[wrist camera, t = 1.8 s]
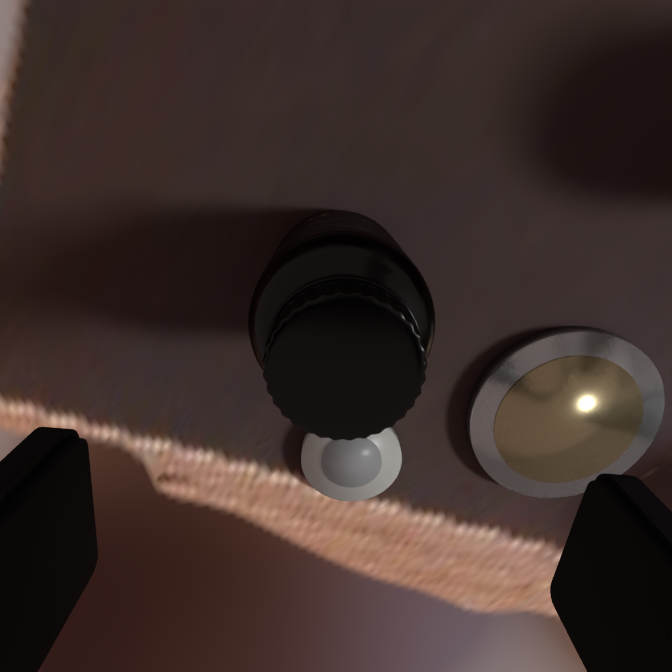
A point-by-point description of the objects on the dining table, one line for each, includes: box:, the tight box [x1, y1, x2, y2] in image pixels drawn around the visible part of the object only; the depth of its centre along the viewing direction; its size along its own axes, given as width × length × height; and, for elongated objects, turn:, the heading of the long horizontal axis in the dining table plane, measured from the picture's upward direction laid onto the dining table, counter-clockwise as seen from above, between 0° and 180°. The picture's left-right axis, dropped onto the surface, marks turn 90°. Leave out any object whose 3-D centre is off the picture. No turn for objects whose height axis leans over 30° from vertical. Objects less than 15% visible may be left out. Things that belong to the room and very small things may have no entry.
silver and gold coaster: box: [466, 326, 665, 498], centre depth 27 cm, size 11×11×1 cm
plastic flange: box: [301, 427, 402, 501], centre depth 28 cm, size 6×6×1 cm
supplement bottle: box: [248, 210, 435, 441], centre depth 19 cm, size 7×7×12 cm
